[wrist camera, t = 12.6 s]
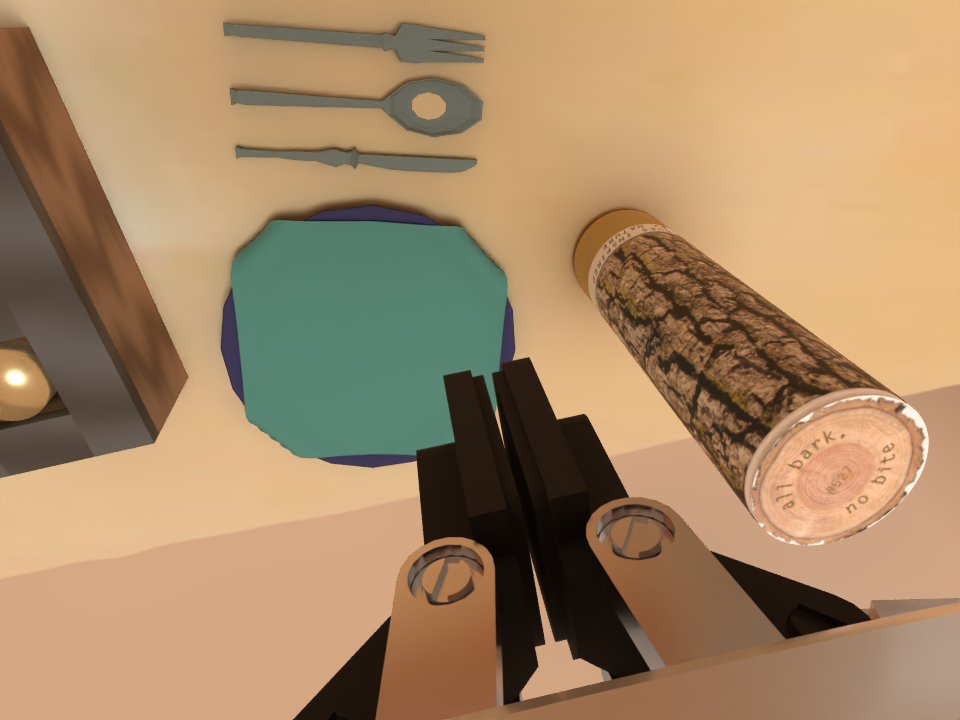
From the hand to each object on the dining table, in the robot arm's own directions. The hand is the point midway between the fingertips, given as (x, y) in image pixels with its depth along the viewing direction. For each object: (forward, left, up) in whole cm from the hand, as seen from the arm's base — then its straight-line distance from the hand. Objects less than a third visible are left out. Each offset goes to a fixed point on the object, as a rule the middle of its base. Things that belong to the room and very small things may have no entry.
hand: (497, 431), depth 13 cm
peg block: (+1, -25, -32) cm, 40 cm away
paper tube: (+10, +12, -32) cm, 36 cm away
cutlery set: (+8, -5, -33) cm, 34 cm away
